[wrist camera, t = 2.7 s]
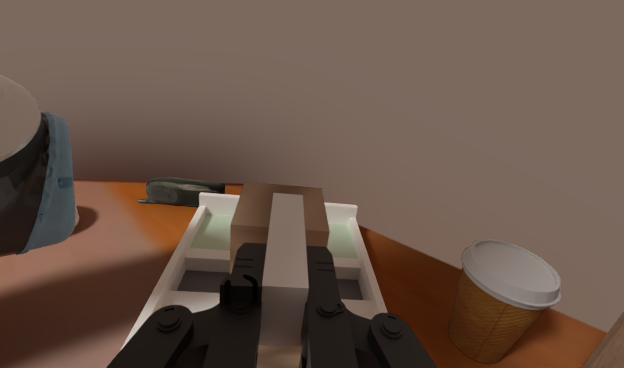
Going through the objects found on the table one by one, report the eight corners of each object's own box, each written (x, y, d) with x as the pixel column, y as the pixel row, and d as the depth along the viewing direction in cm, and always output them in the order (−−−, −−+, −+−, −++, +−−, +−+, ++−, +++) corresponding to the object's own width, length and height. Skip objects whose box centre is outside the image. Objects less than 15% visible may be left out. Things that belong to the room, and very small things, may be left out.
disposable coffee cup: (459, 299, 44) (489, 228, 39) (531, 351, 38) (579, 274, 33) (419, 328, 39) (448, 250, 34) (495, 395, 32) (546, 311, 27)
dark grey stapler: (225, 180, 59) (140, 173, 56) (223, 187, 56) (134, 180, 54) (225, 203, 61) (142, 197, 59) (222, 210, 58) (136, 205, 56)
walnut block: (228, 372, 28) (230, 224, 22) (240, 311, 35) (244, 181, 28) (304, 374, 29) (329, 231, 22) (302, 313, 35) (321, 188, 29)
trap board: (407, 433, 28) (426, 391, 25) (100, 431, 25) (87, 385, 23) (350, 234, 56) (356, 205, 53) (201, 223, 53) (200, 192, 51)
